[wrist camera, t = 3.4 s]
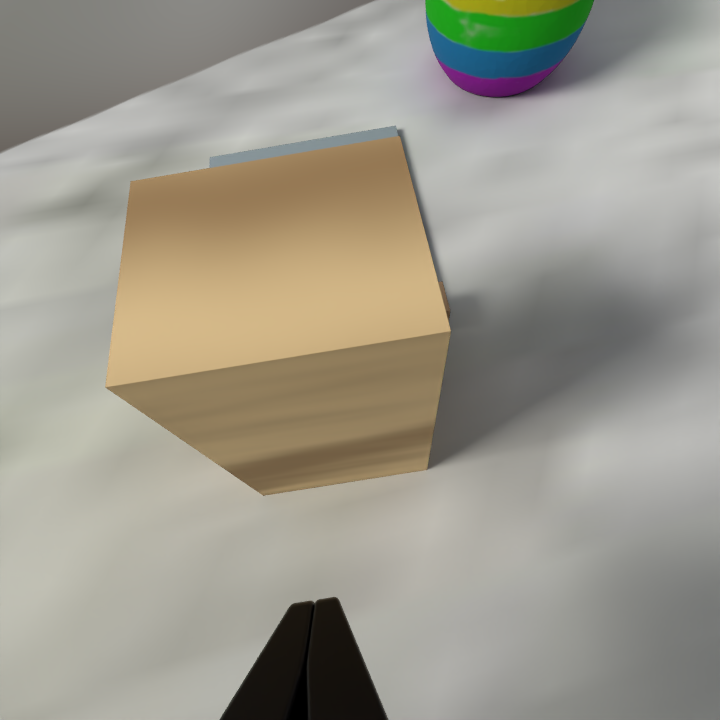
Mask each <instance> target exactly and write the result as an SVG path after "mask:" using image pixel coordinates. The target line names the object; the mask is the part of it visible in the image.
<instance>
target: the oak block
mask: <svg viewBox="0 0 720 720" xmlns="http://www.w3.org/2000/svg"><path fill="white" fill-rule="evenodd" d="M450 334H451V329H450V326H449V322H448V318H447V314H446V310H445V307H444V303H443V299H442V295H441V291H440V287H439V284H438V280H437V276H436V272H435V268H434V265H433V261H432V257H431V253H430V249H429V245H428V242H427V238H426V234H425V230H424V226H423V223H422V219H421V215H420V211H419V207H418V203H417V200H416V196H415V192H414V188H413V184H412V181H411V177H410V173H409V169H408V165H407V161H406V158H405V154H404V150H403V146H402V142H401V139H400V136H396V137H390V138H384V139H378V140H372V141H366V142H360V143H354V144H348V145H343V146H337V147H331V148H325V149H319V150H313V151H307V152H301V153H295V154H290V155H284V156H278V157H272V158H266V159H260V160H254V161H248V162H242V163H237V164H231V165H225V166H219V167H213V168H207V169H201V170H195V171H189V172H183V173H178V174H172V175H166V176H160V177H154V178H148V179H142V180H136V181H131V184H130V192H129V200H128V208H127V216H126V224H125V232H124V240H123V248H122V256H121V265H120V273H119V281H118V289H117V297H116V305H115V313H114V321H113V329H112V337H111V345H110V353H109V362H108V370H107V378H106V386H105V387H106V388H107V389H109V390H110V391H111V392H113V393H114V394H116V395H117V396H119V397H120V398H122V399H123V400H125V401H126V402H127V403H129V404H130V405H132V406H133V407H135V408H136V409H138V410H139V411H141V412H142V413H144V414H145V415H146V416H148V417H149V418H151V419H152V420H154V421H155V422H157V423H158V424H160V425H161V426H163V427H164V428H165V429H167V430H168V431H170V432H171V433H173V434H174V435H176V436H177V437H179V438H180V439H181V440H183V441H184V442H186V443H187V444H189V445H190V446H192V447H193V448H195V449H196V450H198V451H199V452H200V453H202V454H203V455H205V456H206V457H208V458H209V459H211V460H212V461H214V462H215V463H217V464H218V465H219V466H221V467H222V468H224V469H225V470H227V471H228V472H230V473H231V474H233V475H234V476H235V477H237V478H238V479H240V480H241V481H243V482H244V483H246V484H247V485H249V486H250V487H252V488H253V489H254V490H256V491H257V492H259V493H260V494H262V495H263V496H264V495H270V494H277V493H283V492H289V491H296V490H302V489H308V488H315V487H321V486H327V485H334V484H340V483H346V482H353V481H359V480H365V479H372V478H378V477H384V476H391V475H397V474H403V473H410V472H416V471H423V470H427V467H428V461H429V455H430V449H431V443H432V438H433V432H434V426H435V420H436V415H437V409H438V403H439V397H440V391H441V386H442V380H443V374H444V368H445V363H446V357H447V351H448V345H449V339H450Z"/></svg>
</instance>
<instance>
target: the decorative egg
mask: <svg viewBox="0 0 720 720" xmlns="http://www.w3.org/2000/svg"><path fill="white" fill-rule="evenodd" d="M593 2H594V0H426V1H425V4H426V20H427V27H428V32H429V38H430V41H431V44H432V48H433V51H434V53H435V56H436V58H437V60H438V62H439V64H440V66H441V67H442V69H443V70H444V72H445V73H446V74H447V76H448V77H449V78H450V80H451V81H452V82H453V83H455V84H456V85H457V86H459V87H460V88H462V89H463V90H466V91H468V92H470V93H473V94H476V95H482V96H488V97H502V96H510V95H514V94H519V93H521V92H524V91H526V90H528V89H530V88H532V87H534V86H535V85H537V84H538V83H539V82H541V81H542V80H543V79H544V78H545V77H547V76H548V75H549V74H550V73H551V72H552V71H553V70H554V69H555V68H556V67H557V66H558V65H559V64H560V62H561V61H562V60H563V59H564V58H565V56H566V55H567V53H568V52H569V50H570V49H571V48H572V46H573V45H574V43H575V42H576V40H577V38H578V36H579V34H580V33H581V31H582V28H583V26H584V24H585V22H586V20H587V18H588V15H589V13H590V10H591V8H592V5H593Z"/></svg>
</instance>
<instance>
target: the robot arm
mask: <svg viewBox="0 0 720 720" xmlns="http://www.w3.org/2000/svg"><path fill="white" fill-rule="evenodd" d="M220 720H388V717H387V715H386V713H385V710H384V708H383V705H382V703H381V701H380V698H379V696H378V693H377V691H376V688H375V686H374V684H373V681H372V679H371V676H370V674H369V671H368V669H367V667H366V664H365V662H364V659H363V657H362V654H361V652H360V650H359V647H358V645H357V642H356V640H355V638H354V635H353V633H352V630H351V628H350V625H349V623H348V621H347V618H346V616H345V613H344V611H343V608H342V606H341V604H340V601H339V599H338V598H336V597H332V598H325V599H319V600H317V601H316V602H315V603H314V602H313V601H306V602H299V603H294V604H292V605H291V606H290V607H289V608H288V610H287V612H286V613H285V615H284V616H283V618H282V620H281V621H280V623H279V625H278V626H277V628H276V629H275V631H274V633H273V634H272V636H271V637H270V639H269V641H268V642H267V644H266V646H265V647H264V649H263V650H262V652H261V654H260V655H259V657H258V658H257V660H256V662H255V663H254V665H253V667H252V668H251V670H250V671H249V673H248V675H247V676H246V678H245V679H244V681H243V683H242V684H241V686H240V688H239V689H238V691H237V692H236V694H235V696H234V697H233V699H232V700H231V702H230V704H229V705H228V707H227V709H226V710H225V712H224V713H223V715H222V717H221V718H220Z"/></svg>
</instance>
